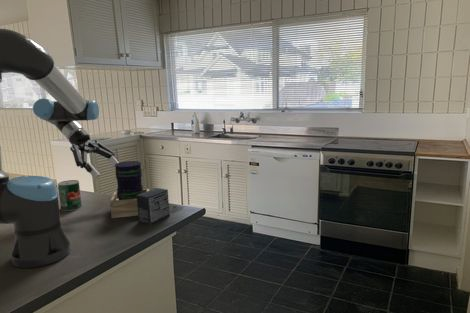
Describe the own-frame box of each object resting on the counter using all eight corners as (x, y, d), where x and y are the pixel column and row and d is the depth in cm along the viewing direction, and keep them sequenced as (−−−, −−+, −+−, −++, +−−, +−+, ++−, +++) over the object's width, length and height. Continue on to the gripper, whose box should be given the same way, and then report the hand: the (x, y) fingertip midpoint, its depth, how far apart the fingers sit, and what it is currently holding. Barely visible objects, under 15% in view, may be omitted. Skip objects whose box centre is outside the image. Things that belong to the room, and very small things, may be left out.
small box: (157, 212, 136) (156, 187, 134) (170, 215, 132) (168, 189, 130) (137, 221, 127) (135, 194, 125) (150, 225, 124) (148, 196, 122)
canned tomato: (66, 205, 148) (63, 180, 146) (84, 204, 148) (82, 179, 146) (57, 211, 140) (54, 185, 138) (77, 210, 140) (74, 184, 138)
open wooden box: (149, 214, 134) (148, 198, 133) (111, 218, 131) (110, 201, 130) (150, 203, 147) (149, 188, 146) (116, 206, 145) (114, 191, 143)
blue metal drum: (136, 194, 145) (133, 160, 143) (148, 199, 139) (145, 163, 136) (113, 200, 139) (110, 164, 136) (125, 205, 132) (122, 167, 129)
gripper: (93, 137, 155) (124, 171, 153) (46, 146, 132) (81, 186, 130) (102, 125, 152) (133, 160, 150) (55, 132, 129) (91, 174, 127)
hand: (109, 172), depth 140 cm, fingers open, 13 cm apart
